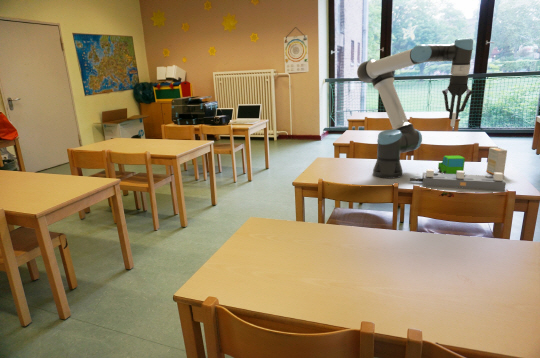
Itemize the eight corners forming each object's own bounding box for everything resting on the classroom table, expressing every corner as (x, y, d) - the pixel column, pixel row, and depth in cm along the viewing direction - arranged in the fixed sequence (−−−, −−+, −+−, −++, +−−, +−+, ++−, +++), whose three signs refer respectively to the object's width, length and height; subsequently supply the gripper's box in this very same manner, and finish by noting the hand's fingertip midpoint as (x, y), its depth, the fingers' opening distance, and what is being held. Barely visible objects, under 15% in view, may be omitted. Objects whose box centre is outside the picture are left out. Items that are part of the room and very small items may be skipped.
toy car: (454, 170, 199) (456, 152, 196) (464, 177, 186) (467, 158, 183) (435, 170, 200) (436, 152, 197) (444, 177, 187) (446, 158, 184)
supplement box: (504, 175, 186) (508, 150, 183) (494, 175, 187) (498, 150, 183) (495, 171, 194) (498, 147, 191) (485, 171, 194) (489, 147, 191)
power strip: (409, 185, 177) (410, 177, 176) (409, 179, 186) (410, 171, 185) (505, 191, 164) (507, 182, 163) (500, 184, 173) (501, 176, 172)
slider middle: (456, 178, 170) (457, 172, 169) (455, 176, 173) (456, 170, 172) (463, 178, 169) (464, 172, 168) (463, 176, 172) (463, 170, 171)
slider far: (494, 180, 165) (495, 174, 164) (493, 178, 168) (494, 172, 167) (502, 180, 164) (503, 174, 163) (500, 178, 167) (501, 172, 166)
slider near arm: (426, 176, 175) (427, 170, 174) (426, 175, 177) (426, 169, 176) (433, 177, 174) (433, 171, 173) (432, 175, 176) (433, 169, 175)
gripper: (444, 75, 165) (438, 127, 173) (476, 75, 161) (468, 128, 168) (443, 74, 172) (436, 124, 179) (474, 74, 168) (466, 125, 175)
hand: (452, 126), depth 174 cm, fingers closed
